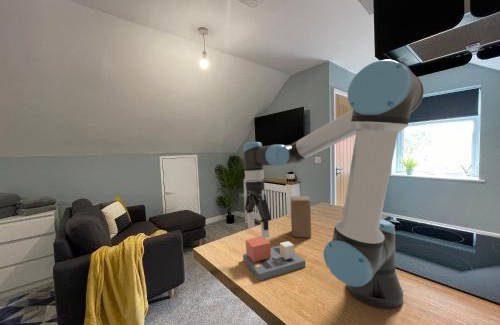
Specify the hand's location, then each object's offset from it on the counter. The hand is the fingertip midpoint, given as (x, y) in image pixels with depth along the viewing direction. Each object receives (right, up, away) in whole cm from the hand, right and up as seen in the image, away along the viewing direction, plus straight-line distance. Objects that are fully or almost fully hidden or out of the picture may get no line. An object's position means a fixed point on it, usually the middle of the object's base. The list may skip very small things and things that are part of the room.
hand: (257, 232), depth 85 cm
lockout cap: (0, -10, +1) cm, 10 cm away
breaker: (+12, -9, -1) cm, 15 cm away
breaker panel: (+6, -13, 0) cm, 14 cm away
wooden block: (+25, -11, +28) cm, 39 cm away
